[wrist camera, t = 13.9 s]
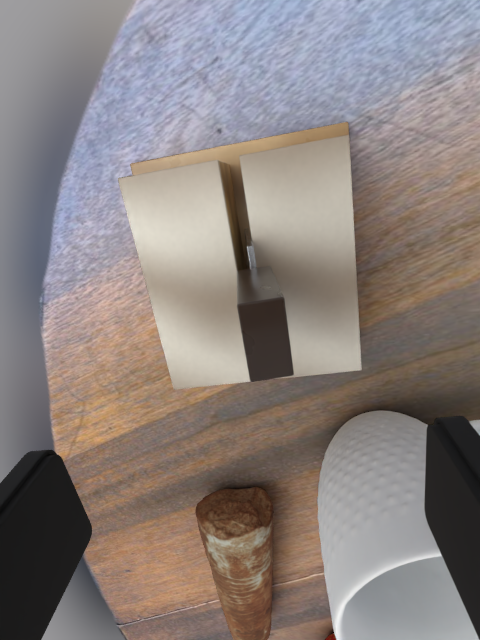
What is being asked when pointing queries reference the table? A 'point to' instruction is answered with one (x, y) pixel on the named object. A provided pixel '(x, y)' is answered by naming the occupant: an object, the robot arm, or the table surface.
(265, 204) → the slotted holder block
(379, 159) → the table surface
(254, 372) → the dark and grey slab
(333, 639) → the fruit
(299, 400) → the table surface
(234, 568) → the brown tapered rod
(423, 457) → the mug
